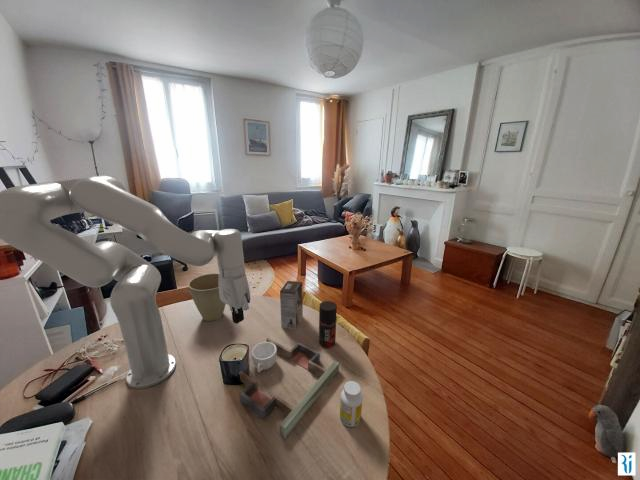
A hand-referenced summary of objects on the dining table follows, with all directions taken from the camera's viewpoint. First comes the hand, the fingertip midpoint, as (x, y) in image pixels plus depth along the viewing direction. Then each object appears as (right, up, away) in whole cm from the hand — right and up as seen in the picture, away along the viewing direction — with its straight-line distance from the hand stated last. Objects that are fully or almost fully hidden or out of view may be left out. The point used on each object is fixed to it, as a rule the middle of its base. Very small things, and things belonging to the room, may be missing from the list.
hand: (238, 320), depth 83 cm
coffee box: (+15, -7, +19) cm, 26 cm away
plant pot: (-17, -5, +22) cm, 29 cm away
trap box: (+15, -15, -7) cm, 22 cm away
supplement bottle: (+34, -19, -19) cm, 43 cm away
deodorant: (+29, -10, +8) cm, 32 cm away
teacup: (+9, -14, -3) cm, 17 cm away
